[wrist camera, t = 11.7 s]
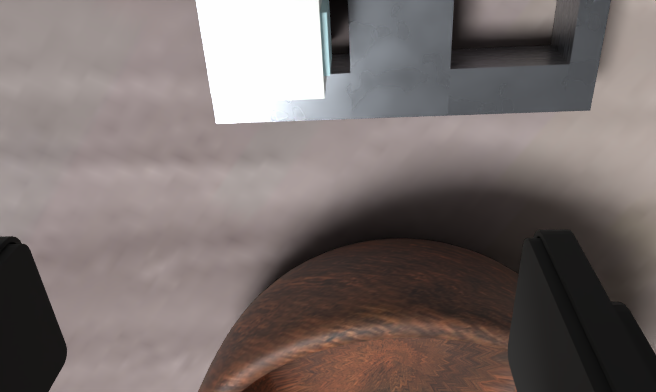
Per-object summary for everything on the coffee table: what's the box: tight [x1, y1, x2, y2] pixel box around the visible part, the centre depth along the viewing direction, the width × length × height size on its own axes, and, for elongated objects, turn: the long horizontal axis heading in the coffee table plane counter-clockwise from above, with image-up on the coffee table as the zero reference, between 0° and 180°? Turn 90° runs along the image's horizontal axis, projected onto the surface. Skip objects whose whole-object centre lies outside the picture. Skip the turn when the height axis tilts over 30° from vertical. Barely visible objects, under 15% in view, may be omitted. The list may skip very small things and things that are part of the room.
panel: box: [196, 0, 611, 124], centre depth 27 cm, size 18×10×3 cm, turn 93°
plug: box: [207, 0, 332, 103], centre depth 25 cm, size 4×4×8 cm
